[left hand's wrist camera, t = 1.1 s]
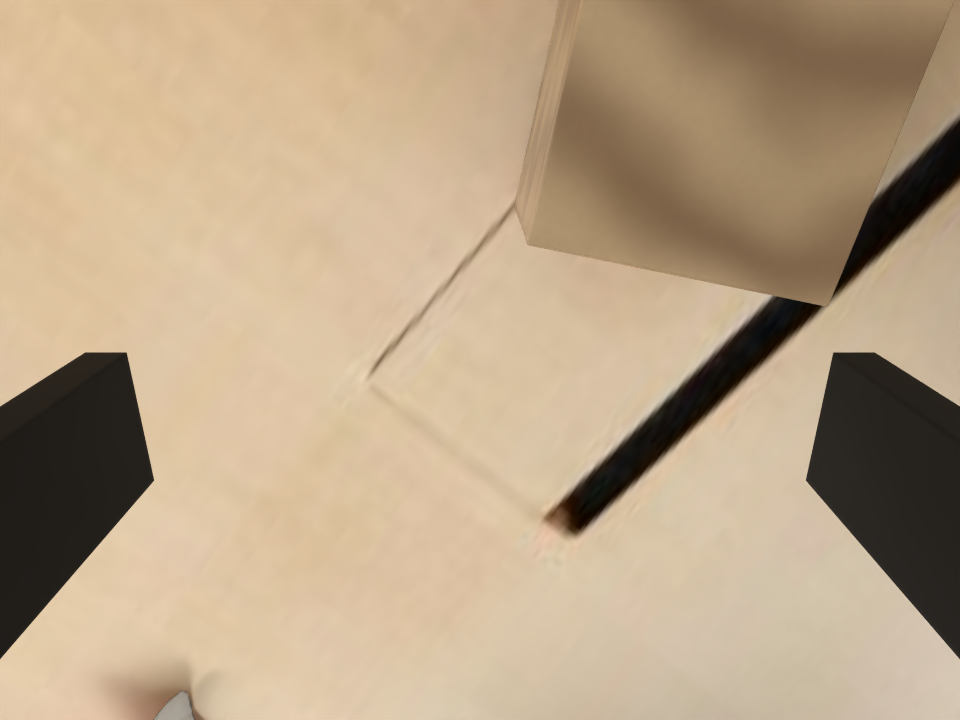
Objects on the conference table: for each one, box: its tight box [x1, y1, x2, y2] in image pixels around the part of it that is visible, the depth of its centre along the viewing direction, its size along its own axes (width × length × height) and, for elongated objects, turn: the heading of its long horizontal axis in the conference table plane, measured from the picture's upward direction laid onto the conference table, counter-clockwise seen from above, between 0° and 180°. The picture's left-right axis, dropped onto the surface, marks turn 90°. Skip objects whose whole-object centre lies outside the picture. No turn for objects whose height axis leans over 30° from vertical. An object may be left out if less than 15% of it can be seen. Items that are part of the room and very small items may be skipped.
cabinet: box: [515, 0, 954, 306], centre depth 25 cm, size 17×11×9 cm, turn 169°
